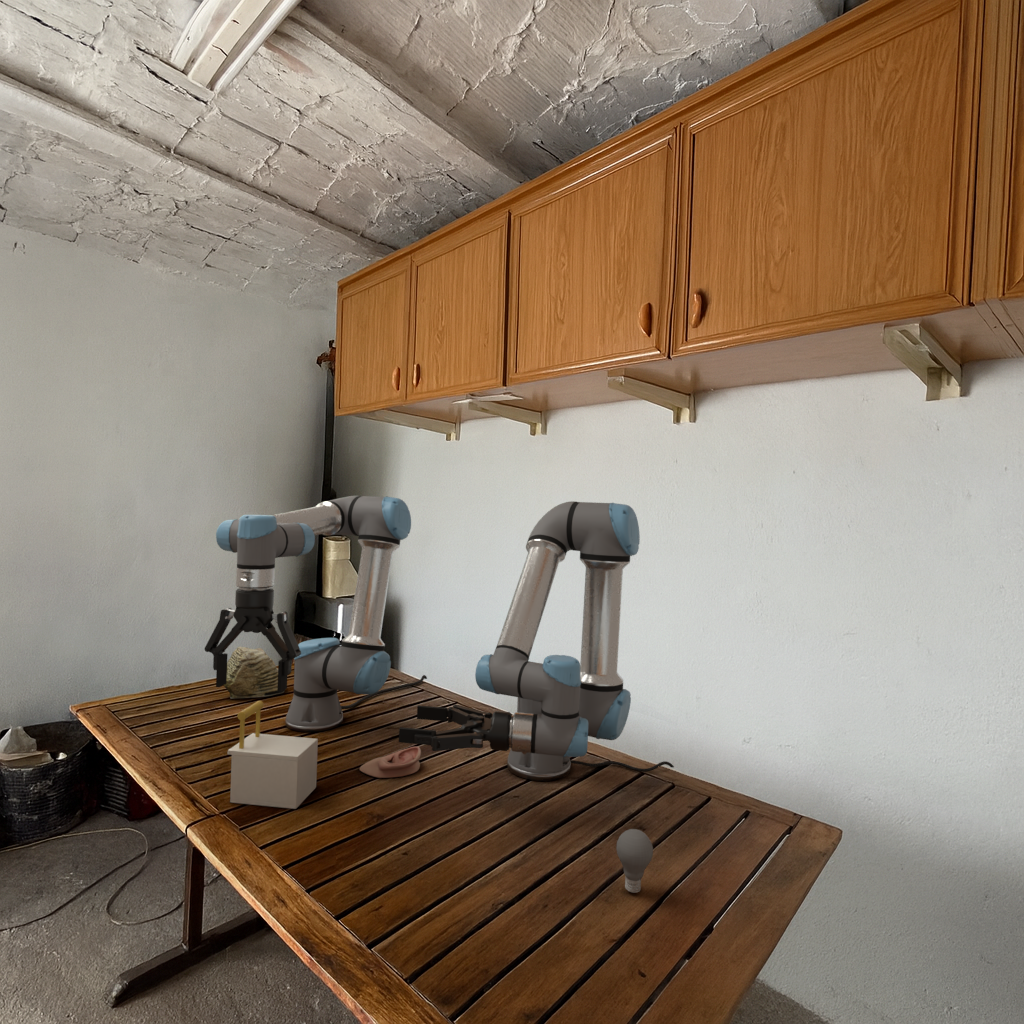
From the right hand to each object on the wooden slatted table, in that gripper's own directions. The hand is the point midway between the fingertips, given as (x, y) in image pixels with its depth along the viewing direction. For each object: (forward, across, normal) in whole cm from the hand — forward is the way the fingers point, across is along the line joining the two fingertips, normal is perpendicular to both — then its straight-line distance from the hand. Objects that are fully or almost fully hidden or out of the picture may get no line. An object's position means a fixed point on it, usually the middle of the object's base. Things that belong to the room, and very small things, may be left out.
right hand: (408, 722), depth 130 cm
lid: (+29, 0, -8) cm, 30 cm away
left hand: (+34, 0, +5) cm, 35 cm away
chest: (+28, 0, -18) cm, 33 cm away
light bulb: (-45, -20, -18) cm, 52 cm away
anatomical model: (+8, +17, -18) cm, 26 cm away
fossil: (+66, +60, -18) cm, 91 cm away
